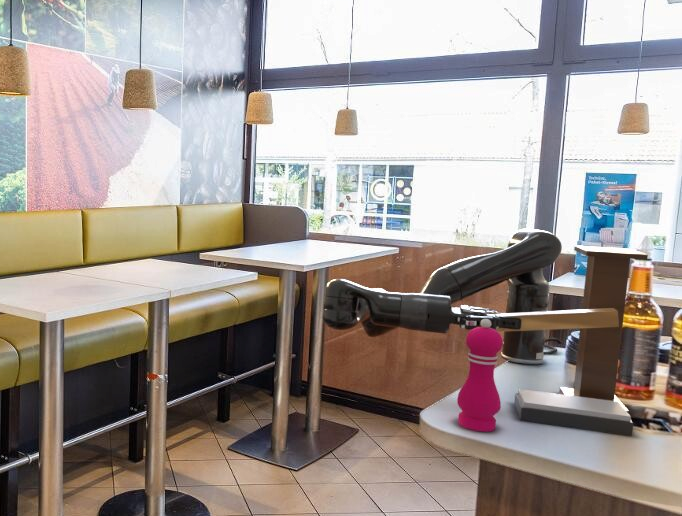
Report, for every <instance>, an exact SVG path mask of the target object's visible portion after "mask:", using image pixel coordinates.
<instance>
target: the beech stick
mask: <svg viewBox="0 0 682 516" xmlns="http://www.w3.org/2000/svg"><path fill="white" fill-rule="evenodd" d="M501 313H502V314H498V313H497V314H491V315H498V316H506V317H517V318H520V319H521V320H522V322H521V328H520V329H519V330H517V329H507V328H498V329H496V331H498V332H499V333H500V332H503V333H504V331H528V330H546V331H548V330H550V331H552V330H576V329H580V328H602V327H619V321H618V311H617V310H616V309H614V308H603V309H583V310H582V309H566V310H564V309H563V310H548V311H542V312H522V313H506V312H501Z"/></svg>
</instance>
